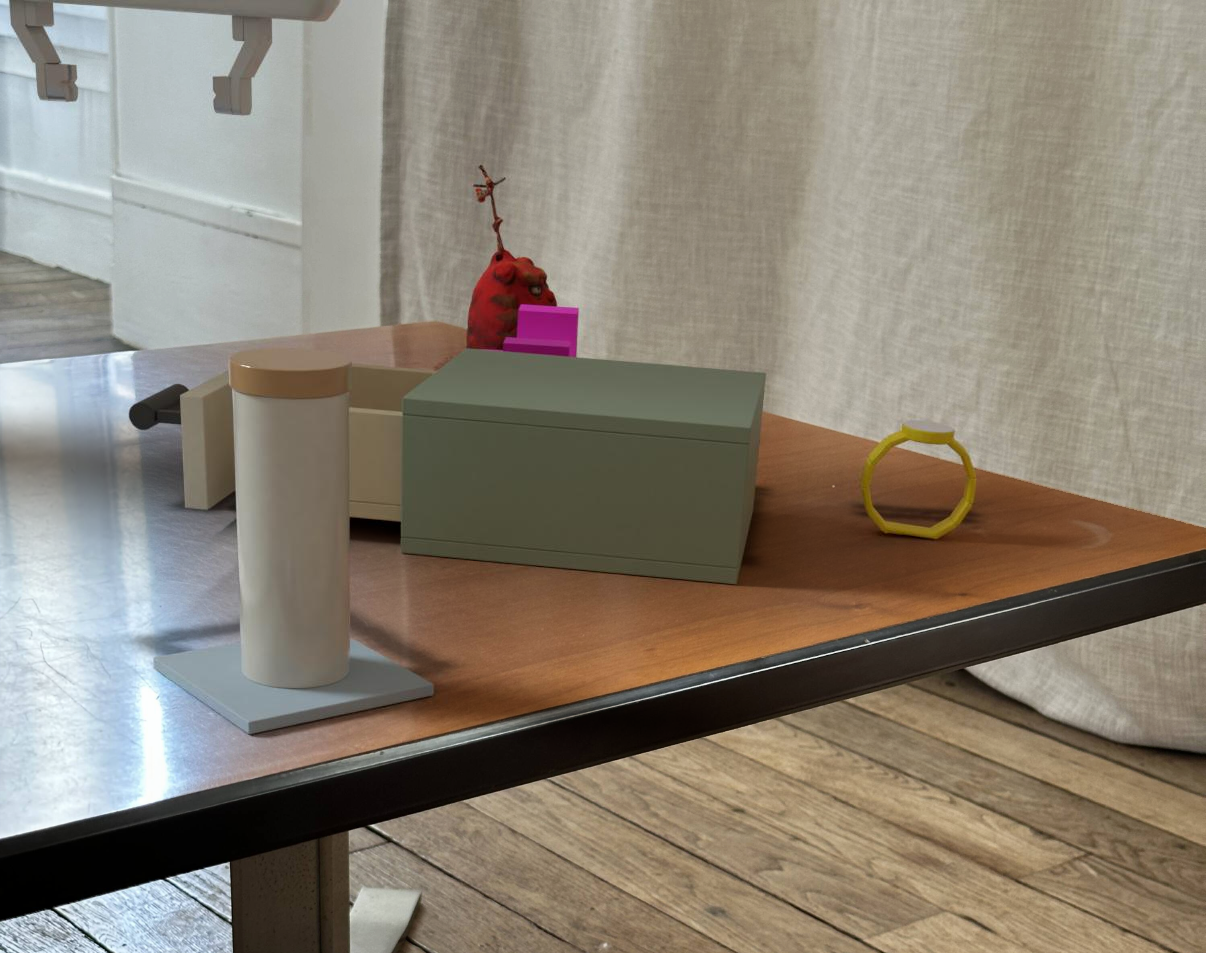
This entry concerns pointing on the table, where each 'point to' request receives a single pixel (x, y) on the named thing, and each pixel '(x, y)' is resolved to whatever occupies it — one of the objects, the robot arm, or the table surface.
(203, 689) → the mat
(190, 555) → the table surface
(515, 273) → the red clay folk toy
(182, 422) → the drawer
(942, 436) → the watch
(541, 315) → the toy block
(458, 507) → the cabinet
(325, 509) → the spice jar
